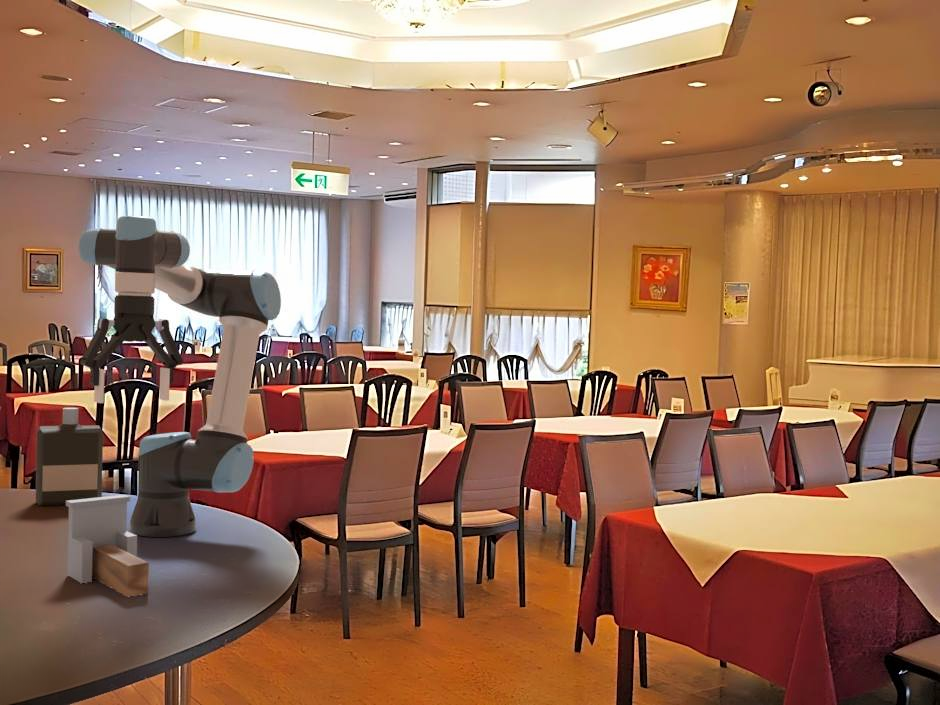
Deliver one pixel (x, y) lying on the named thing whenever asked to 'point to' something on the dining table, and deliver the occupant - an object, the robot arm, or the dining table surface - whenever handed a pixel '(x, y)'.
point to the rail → (120, 570)
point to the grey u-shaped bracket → (96, 531)
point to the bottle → (68, 461)
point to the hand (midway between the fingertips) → (132, 401)
